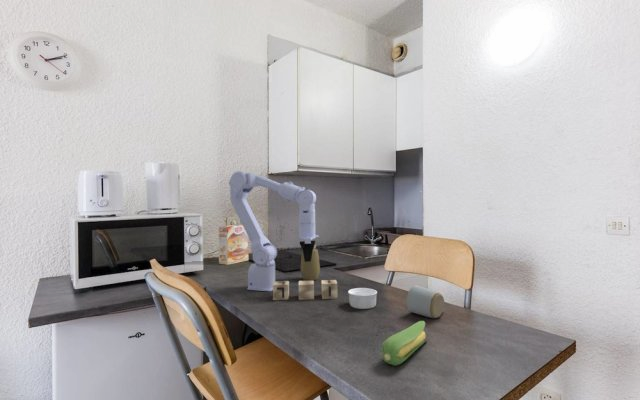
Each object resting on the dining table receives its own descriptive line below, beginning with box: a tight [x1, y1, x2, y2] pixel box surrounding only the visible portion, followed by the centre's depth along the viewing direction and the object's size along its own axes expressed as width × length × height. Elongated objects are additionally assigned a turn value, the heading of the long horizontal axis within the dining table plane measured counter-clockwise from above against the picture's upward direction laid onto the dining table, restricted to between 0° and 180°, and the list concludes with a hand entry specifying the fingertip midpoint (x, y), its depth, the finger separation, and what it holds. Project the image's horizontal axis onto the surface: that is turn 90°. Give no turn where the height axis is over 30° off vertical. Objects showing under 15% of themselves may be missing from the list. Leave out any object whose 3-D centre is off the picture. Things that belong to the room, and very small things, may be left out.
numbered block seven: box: [272, 280, 290, 301], centre depth 112 cm, size 5×5×5 cm
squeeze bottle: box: [299, 239, 321, 281], centre depth 137 cm, size 8×8×18 cm
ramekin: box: [347, 287, 378, 310], centre depth 103 cm, size 9×9×4 cm
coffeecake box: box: [218, 223, 249, 266], centre depth 177 cm, size 15×7×20 cm, turn 147°
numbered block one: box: [321, 279, 338, 300], centre depth 113 cm, size 5×5×5 cm
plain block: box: [298, 280, 315, 301], centre depth 112 cm, size 5×5×5 cm
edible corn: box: [381, 320, 427, 367], centre depth 72 cm, size 5×20×5 cm
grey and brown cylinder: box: [405, 284, 445, 319], centre depth 95 cm, size 11×8×8 cm
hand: (307, 261), depth 120 cm, fingers closed
